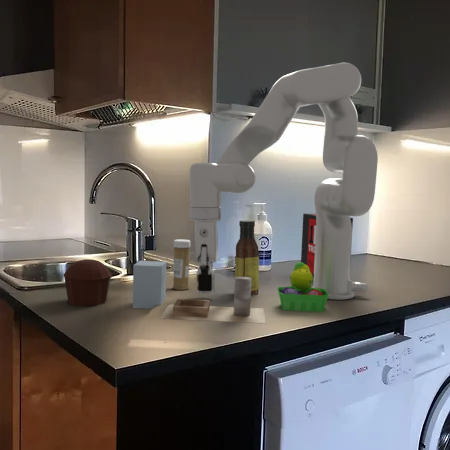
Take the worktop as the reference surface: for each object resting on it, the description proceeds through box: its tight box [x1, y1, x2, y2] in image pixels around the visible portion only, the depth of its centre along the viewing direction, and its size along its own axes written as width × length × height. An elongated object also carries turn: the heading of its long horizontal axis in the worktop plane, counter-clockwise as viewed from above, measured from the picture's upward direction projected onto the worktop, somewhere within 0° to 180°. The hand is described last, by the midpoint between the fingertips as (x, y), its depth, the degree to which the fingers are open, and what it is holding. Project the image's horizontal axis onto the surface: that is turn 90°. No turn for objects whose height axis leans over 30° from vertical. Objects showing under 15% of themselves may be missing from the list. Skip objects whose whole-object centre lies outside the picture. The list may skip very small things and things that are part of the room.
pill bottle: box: [196, 260, 216, 295], centre depth 124 cm, size 4×4×8 cm
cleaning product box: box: [300, 213, 354, 280], centre depth 162 cm, size 16×9×20 cm, turn 16°
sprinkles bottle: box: [172, 238, 191, 291], centre depth 139 cm, size 5×5×14 cm
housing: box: [132, 260, 167, 310], centre depth 120 cm, size 6×6×10 cm
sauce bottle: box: [234, 219, 260, 296], centre depth 133 cm, size 7×6×20 cm
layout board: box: [159, 277, 267, 324], centre depth 111 cm, size 22×12×9 cm, turn 88°
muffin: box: [63, 258, 113, 307], centre depth 121 cm, size 12×11×10 cm
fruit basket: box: [276, 261, 329, 313], centre depth 119 cm, size 11×9×11 cm
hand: (206, 287), depth 125 cm, fingers closed on pill bottle, 4 cm apart
